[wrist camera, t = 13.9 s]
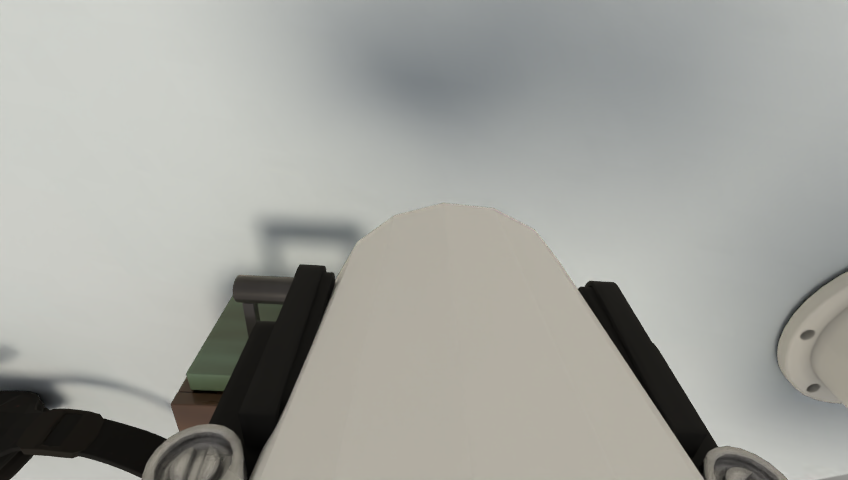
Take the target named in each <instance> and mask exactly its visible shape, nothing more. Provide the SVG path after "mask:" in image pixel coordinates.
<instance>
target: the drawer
mask: <svg viewBox="0 0 848 480" xmlns="http://www.w3.org/2000/svg"><path fill="white" fill-rule="evenodd" d="M293 279H294V277H274V276H255V275H238V276H237V277H236V279H235V281H234V285H233V296H232V298H231V299H230V301H229V303H228V304H227V306H226V308H225V309H224V311H223V313H222V314H221V316H220V318H219V319H218V321H217V323H216V324H215V326H214V328H213V329H212V331H211V333H210V334H209V336H208V338H207V340H206V341H205V343H204V345H203V346H202V348H201V350H200V351H199V353H198V355H197V356H196V358H195V360H194V361H193V363H192V365H191V366H190V368H189V370H188V371H187V373H186V375H187V379H188V382H189V386H190V389H191V390H205V391H218V392H217V394H223V392H224V390H225V387H226V385H227V383H228V381H229V379H230V377H231V375H232V372H233V370H234V368H235V366H236V364H237V362H238V360H239V357H240V355H241V353H242V351H243V349H244V347H245V345H246V342H247V340H248V338H249V336H250V334H251V332H252V329H253V327H254V326H255V324H256V323H257V322H258V321H275V322H276V320H277V318H278V315H279V313H280V310H281V308H282V306H283V303H284V301H285V298H286V296H287V293H288V291H289V288H290V286H291V284H292V281H293ZM335 281H336V280H335Z"/></svg>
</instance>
